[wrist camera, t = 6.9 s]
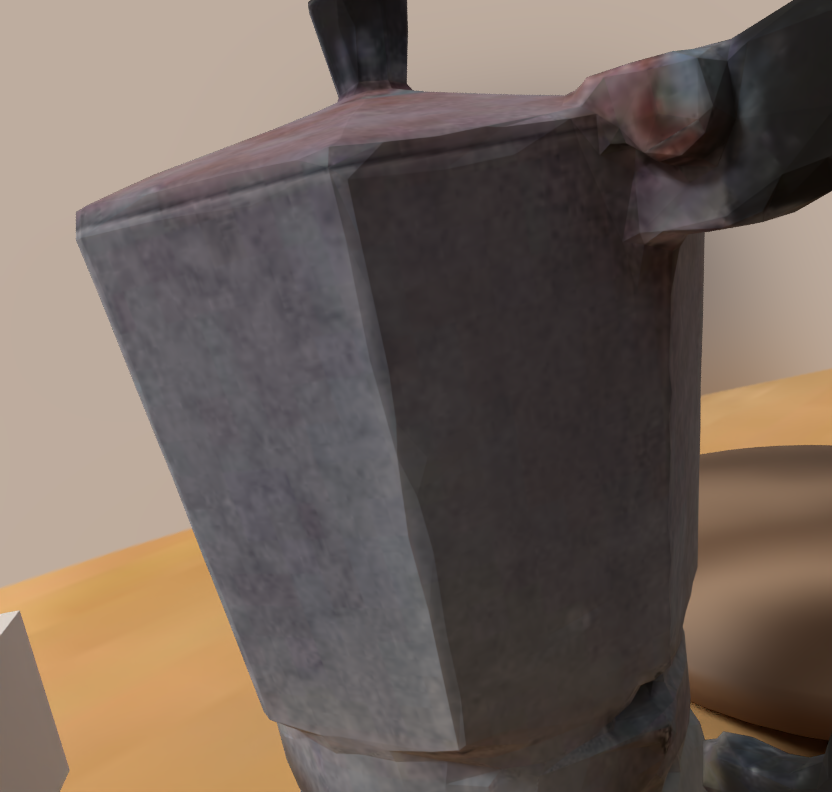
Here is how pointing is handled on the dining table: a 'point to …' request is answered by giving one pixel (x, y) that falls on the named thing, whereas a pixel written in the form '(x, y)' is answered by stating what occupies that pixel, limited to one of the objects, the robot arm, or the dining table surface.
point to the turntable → (764, 588)
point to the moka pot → (464, 401)
